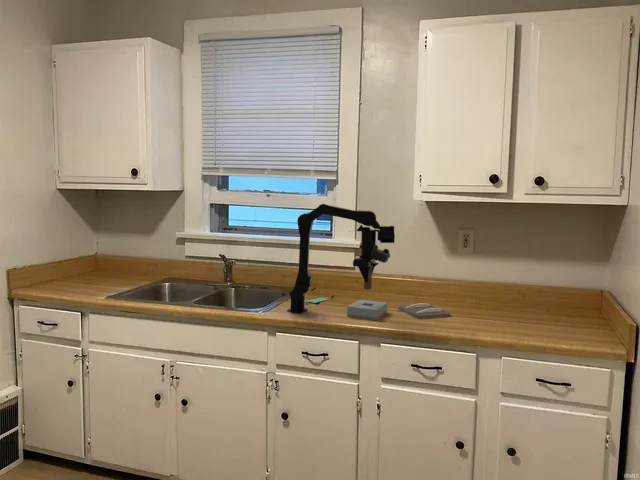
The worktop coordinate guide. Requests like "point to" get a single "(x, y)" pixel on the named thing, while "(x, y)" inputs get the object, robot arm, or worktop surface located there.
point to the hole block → (367, 309)
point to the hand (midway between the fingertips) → (367, 281)
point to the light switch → (423, 311)
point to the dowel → (368, 284)
